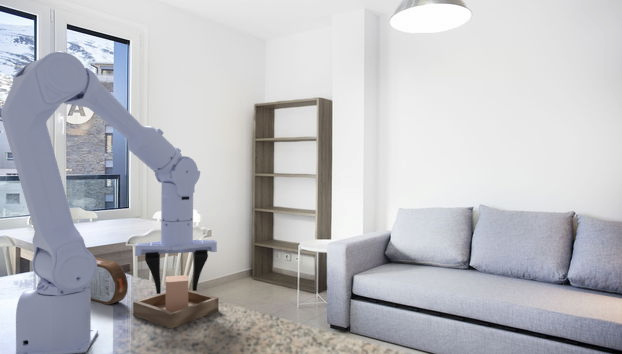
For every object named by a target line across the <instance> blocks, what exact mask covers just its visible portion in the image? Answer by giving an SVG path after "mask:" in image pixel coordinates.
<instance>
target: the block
mask: <svg viewBox="0 0 622 354" xmlns="http://www.w3.org/2000/svg"><path fill="white" fill-rule="evenodd" d="M188 290H189V277H188V275H187V274H186V275H170V276H168V275H167V276H165V292H166V310H167V311H171V312H174V311H177V310H180V309H183V308H186V307H188Z"/></svg>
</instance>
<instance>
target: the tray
mask: <svg viewBox="0 0 622 354" xmlns="http://www.w3.org/2000/svg"><path fill="white" fill-rule="evenodd" d="M219 303H220V301H219V297H216V296H213V295H209V294H205V293H201V292H199V291H193V290H190V289H188V307H186V308H183V309H180V310H177V311H174V312H171V311H167V310H166V291H164V292H163V293H162V292H161V294H155V295H151V296H148V297H145V298H142V299H137V300H135V301H133V302H132V315H133V316H134V317H137V318H141V319H143V320H146V321H147V322H151V323H154V324H156V325H161V326H162V327H165V328H168V329H170V330H172V329H174V328H177V327H179V326H180V327H181V326H182V325H186V324H187V323H190V322H193V321H196V320H198V319H201V318H203V317H205V316H209V315H211V314H214V313H216V312H219Z"/></svg>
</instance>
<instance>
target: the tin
mask: <svg viewBox="0 0 622 354" xmlns="http://www.w3.org/2000/svg"><path fill="white" fill-rule="evenodd" d="M94 257H95V256H94ZM95 259H96V261H97V272H96V275H95V277H94V279H93V280H92V281H91V285H90V286H91V301H94V302H97V303H100V304H104V305H113V304H115V303H117V302H121V301H123V300H124V299H125V297H127V293H128V289H129V288H128V287H129V284H128V277H127V274H126V272H125V271H124V269H123V267H122V266H121V265H120V264H119V263H118V262H116V261H113V260H110V259H104V258H99V257H95Z"/></svg>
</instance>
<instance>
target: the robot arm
mask: <svg viewBox="0 0 622 354" xmlns="http://www.w3.org/2000/svg"><path fill="white" fill-rule="evenodd" d="M12 77H13V78H12V84H11V85H10V88H9V92H8V94H7V96H6V99H5V101H4V104H3V106H2V108H1V111H0V117H1V118H0V119H1V122H2V125H3V129H4V132H5V135H6V139H7V141H8V142H7V143H8V146H9V148H10V152H11V155H12V159H13V162H14V165H15V168H16V173H17V175H18V179H19V184H20V186H21V189H22V193H23V196H24V200H25V203H26V206H27V209H28V213H29V217H30V220H31V224H32V227H33V229H34V230H33V231H34V234H33V236H32V240H31V241H32V244H33V249H34V251H33V252H34V253H33V258H32V261H31V265H32V266H31V267H32V270H33V272H34V274H35V275H36V276H37V277H38V278H40V279H39V281H38V283H37V286H36V288H35V289H28V290H24V291H23V292H22V293H21V294H20V296H19V298H18V301H17V304H16V310H15V311H16V312H15V354H82V353H83V354H84V353H86V352H87V351H88V350H89V348H90V346H91V345H92V343H93V342H94V340H95V338H96V337H97V335H98V333H99V330H98V329H97V328H96V329H92V323H91V322H92V321H91V320H92V317H91V314H92V313H91V309H92V308H91V303H92V300H91V286H90V285H91V281H92V280H93V279H94V277H95V275H96V272H97V261H96V259H95V255H94V254H93V253H92V252H91V251H90V250H88V248H87V246H86V242H85V240H84V238H83V236H82V234H81V233H80V232H79V230H78V229H77V227H76V226H75V224H74V221H73V217H72V213H71V210H70V207H69V206H70V205H69V203H68V198H67V195H66V194H67V193H66V192H65V187H64V184H63V179H62V176H61V172H60V169H59V166H58V161H57V159H56V155H55V151H54V147H53V144H52V140H51V137H50V136H51V135H50V133H49V129H48V126H47V122H48V120H50V118H51V117H52V116H53V115H54V113H55V112H56V111H57V110H58V109H59V108H60V106H61V105H62V104H64V105H70V106H75V107H76V106H77V107H82V108H87V109H89V110H90V111H92V112H93V113H94V114H95V115H96V116H98V117H99V118H101V119H102V121H104V122H105V123H106V124H108V125H109V126H110V127H111V128H112V129H114V130H115V131H117V132H118V133H119V134H120V135H122V136H123V137H124V138H126V140H127V148H128V150H129V151H130V152H131V153H132V154H133V155H134V156H136V157H137V159H139V160H140V161H141V162H142V163H143V164H145V165H146V166H147V167H149V168H150V169H151V171H153V172H154V176H155V179H156V181H157V182H158V183H161V197H160V199H161V211H160V212H161V215H160V217H161V220H160V221H161V223H160V224H161V225H160V230H161V231H160V232H161V233H160V234H161V235H160V241H152V242H151V241H149V242H140V243H139V242H138V243H135V246H134V250H135V251H134V255H135V257H141V256H143V255H145V256H144V259H145V260H144V261H145V263H146V265H147V266H148V269H149V270H150V273H151V275H152V279H153V281H154V285H155V291H156V295H158V294H161V293H162V292H161V289H162V288H161V285H162V283H161V273H160V272H161V255H162V254H163V255H164V254H165V255H167V254H183V253H184V254H186V253H192V261H193V263H192V264H193V265H192V266H193V267H192V268H193V269H192V281H191V285H192V287H191V288H192V291H195V292H198V291H197V290H198V284H199V280H200V277H201V274H202V271H203V268H204V267H205V264H206V263H207V260H208V257H209V253H208V252H210V253H216V252H217V251H218V250H217V248H218V247H217V246H218V245H217V244H218V243H217V240H216V239H214V240H213V239H211V240H209V239H207V240H205V239H204V240H202V239H201V240H200V239H198V240H197V239H194V235H193V234H194V193H195V187H196V184H197V182H198V181H199V179H200V176H201V171H200V170H199V168H198V166H197V163H196V162H195V160H194V159H192V158H191V157H189V156H185V155H184V156H183V155H182V153H181V152H182V150H181V149H180V148H179V147H175V146H174V145H173V144H172V143H171V142H170V141H169V140H168V139H167V138H166V137H165V136H163V135H164V132H163V130H162V129H161V128H159V127H157V128H155V127H154V126H152V125H142V124H141V123H140V122H139V121H138V120H137V118H135V117H134V116H133V115H132V114H131V113H130V112H129V111H128V110H127V108H125V106H123V104H122V103H121V102H120V101H119V100H118V99H117V97H115V96H114V95H113V94H112V93H111V92H110V91H109V90H108V89H107V88H106V87H105V86H104V85H103V84H102V82H101V81H100V79H99V78H98V76H97V75H96V73H95V72H94V71H93V70H91V69H90V68H88V67H85V66H84V64H83V63H82V61H81V60H80V59H79V58H78V57H76V56H75V55H73V54H71V53H69V52H65V51H53V52H50V53H48V54H46V55H45V56H44V57H42V58H39V59H37V60H33V61H30V62H28V63H27V64H25V66H23V67H22V68H21V69H20V70H19V71H17V72H16V73H15V74H14V75H13V76H12Z"/></svg>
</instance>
